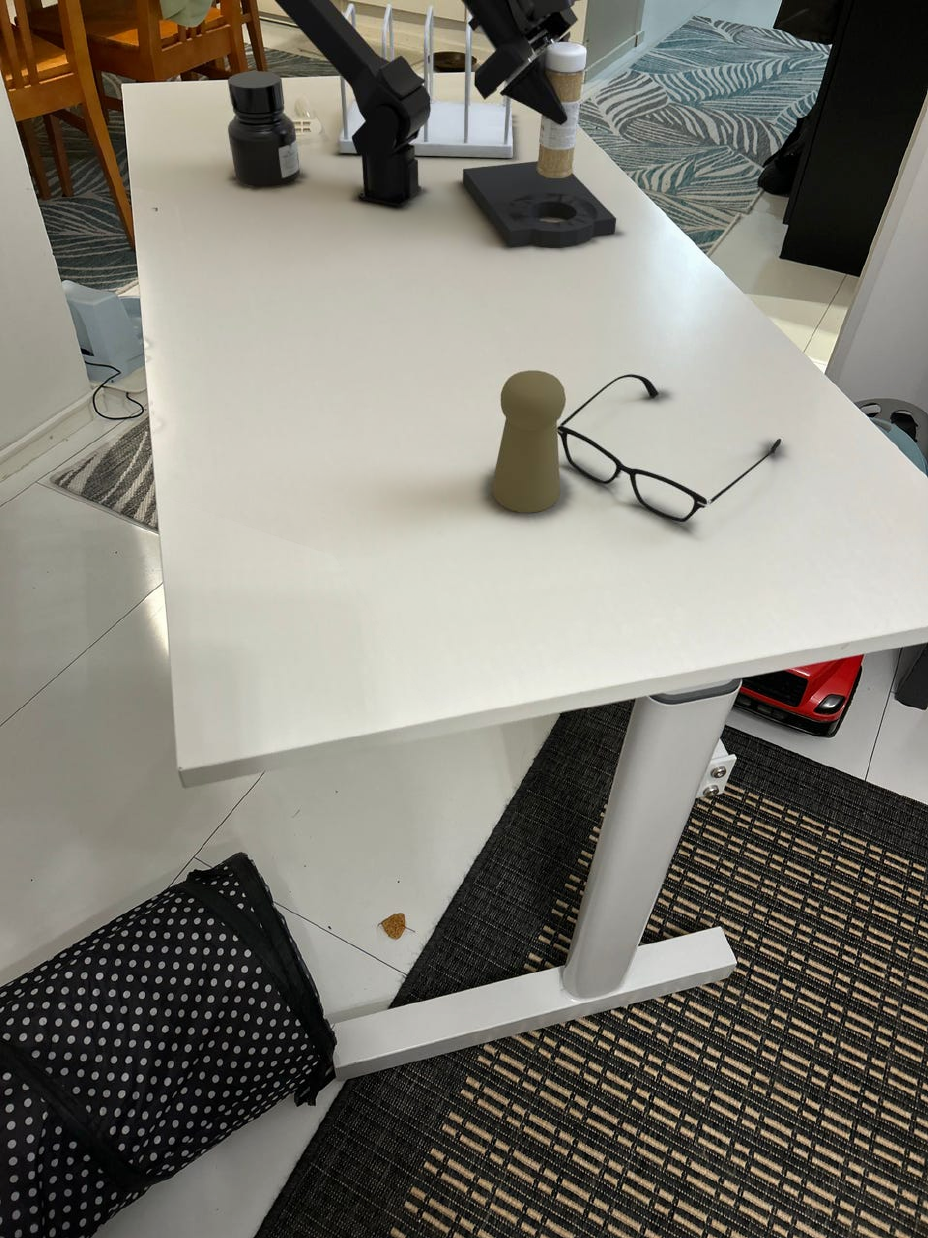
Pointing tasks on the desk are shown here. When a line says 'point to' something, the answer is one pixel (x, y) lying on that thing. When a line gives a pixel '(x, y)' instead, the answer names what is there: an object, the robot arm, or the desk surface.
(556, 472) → the olive game pawn
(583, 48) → the sprinkles bottle
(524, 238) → the pad
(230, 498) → the desk surface
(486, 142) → the file sorter
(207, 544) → the desk surface
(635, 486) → the eyeglasses
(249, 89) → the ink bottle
